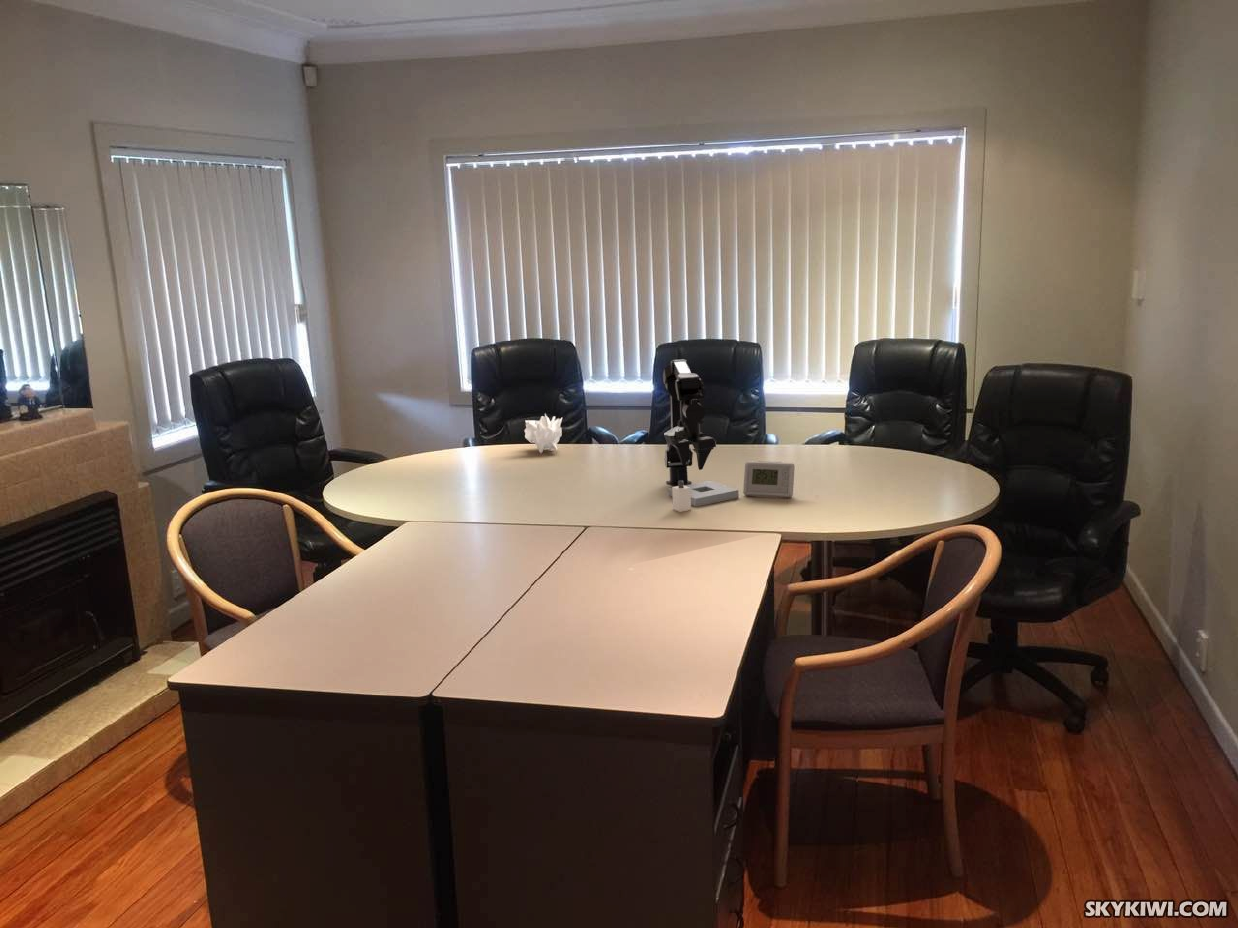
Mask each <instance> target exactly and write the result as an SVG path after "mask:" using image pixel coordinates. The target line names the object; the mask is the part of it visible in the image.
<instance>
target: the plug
mask: <svg viewBox="0 0 1238 928" xmlns="http://www.w3.org/2000/svg"><path fill="white" fill-rule="evenodd" d="M671 488H672V494H673V497H672V509H673V510H674V511H677V512H680V513H682V512H686V511H690V510H692V505H691V495H690V487H687V486H685V485H684V481H682V480H680V481H678V486H672V487H671Z"/></svg>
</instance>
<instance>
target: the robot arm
mask: <svg viewBox="0 0 1238 928" xmlns="http://www.w3.org/2000/svg"><path fill="white" fill-rule="evenodd" d="M690 368H691V367H690V366H689V365H688V361H687V359H673V360H671V361H670V363H669V365H667V366H666V367H664V369H663V373H662V380H663V384H664V385H665V386H664V387H665V388H666V389H665V390H666V391H667V392H668V394H669V395H670V396H669V397H670V427H671V429H669V430H667V431H666V432H664V434H663V435H664V439H665V440H666V449H665V452H664V465H665V467H666V469H668V468H669V480H666V482H665V483H666V484H668V485H672V486H673V487H676V486H678V481H680V480H682V481H684V486H685V485H690V484H693V483H692V481H690V480H688V467H692V465H693V457H694V456H693V455H694V453H695V454H696V461H697V467H698V470H700V471H701V470H703V469H704V466H705V465H706V462H707V460H708V458H709V456H710V453H711V452H712V450H714V448H716V447H717V439H715V438H714V437H711V436H704V433H703V432H701V424H703V423H704V422H703V419H704V417H705V414H706V411H705V409H704V406H702V404H701V403H700V400H705V396H706V390H705V385H704V382H703V379H702V378H700V376H699V375H698V374H697V373H692V372H691V369H690ZM690 445H692V447H693V448H692V449H691V447H690ZM693 451H694V452H693Z"/></svg>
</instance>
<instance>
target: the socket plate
mask: <svg viewBox="0 0 1238 928" xmlns="http://www.w3.org/2000/svg"><path fill="white" fill-rule="evenodd" d="M684 486H687V487H690V495H691V506H693V507H700V506H705V505H710V504H715V503H719V502H724V501H728V500H734V499H738V498H739V489H737V488H734V487H730V486H728V485H725V484H722V483H719V482H716V481H713V480H707V481H705V480H704V481H701V482H696V483H690V484H685V485H684ZM668 496H669V497H671V498H673V494H672V487H671V488H668Z"/></svg>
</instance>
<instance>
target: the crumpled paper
mask: <svg viewBox="0 0 1238 928" xmlns="http://www.w3.org/2000/svg"><path fill="white" fill-rule="evenodd" d="M562 420H563V417H562V416H561V418H559V417H558V418H556V416H555V415H554V416H552V419H551V420H550V418H549V417H548V415H547V413H544V416H543V415H542V416H540V419H539V420H524V421H525V427H526V428H524V433H525V434H524V437H525V439H526V440H527V441H528V442H530V444H535V446H537V447H536V448H537V450H538V452H539V453H540V454H542V453H543V451H544V450H547V449H549V452H550V451H551V452H552V451H554V450H555V451H558V450H559V449H558V447H557V444H558V443H559V441H560V438H561V437H562V433H563V431H562V430H563V428H562V427H561V424H562Z"/></svg>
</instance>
